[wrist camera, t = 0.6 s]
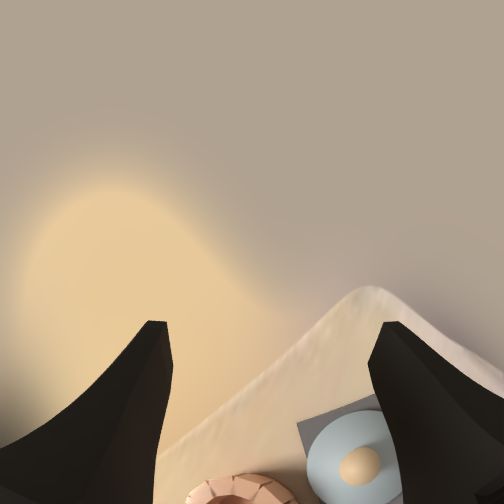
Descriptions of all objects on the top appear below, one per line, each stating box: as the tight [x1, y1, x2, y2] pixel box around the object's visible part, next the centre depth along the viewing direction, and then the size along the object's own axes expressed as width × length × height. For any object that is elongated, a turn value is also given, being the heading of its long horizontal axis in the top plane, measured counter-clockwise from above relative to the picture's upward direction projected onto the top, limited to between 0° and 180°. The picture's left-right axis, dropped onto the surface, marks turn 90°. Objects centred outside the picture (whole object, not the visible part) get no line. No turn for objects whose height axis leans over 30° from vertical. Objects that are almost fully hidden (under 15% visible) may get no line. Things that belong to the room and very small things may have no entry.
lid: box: [307, 410, 402, 504], centre depth 17 cm, size 8×8×5 cm
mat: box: [297, 394, 403, 504], centre depth 19 cm, size 10×8×1 cm
